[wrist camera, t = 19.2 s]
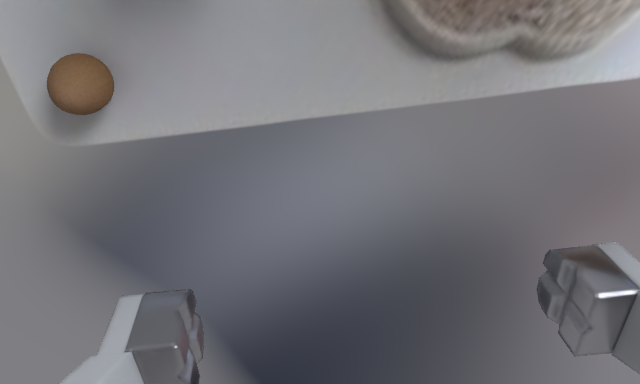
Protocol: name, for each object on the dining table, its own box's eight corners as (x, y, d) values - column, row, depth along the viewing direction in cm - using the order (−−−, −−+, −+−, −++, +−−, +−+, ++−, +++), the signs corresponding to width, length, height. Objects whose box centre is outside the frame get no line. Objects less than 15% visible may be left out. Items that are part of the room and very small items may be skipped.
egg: (92, 109, 39) (66, 139, 34) (50, 64, 37) (16, 89, 32) (133, 82, 38) (112, 108, 33) (93, 35, 36) (65, 55, 31)
